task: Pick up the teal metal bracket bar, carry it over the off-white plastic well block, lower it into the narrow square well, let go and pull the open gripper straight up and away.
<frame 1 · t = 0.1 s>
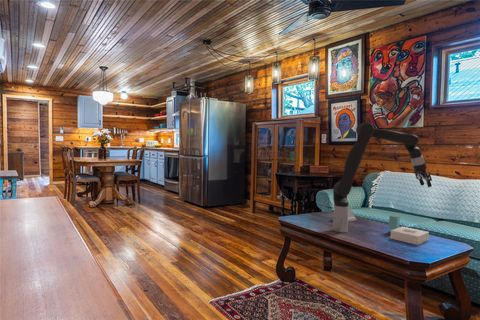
hand: (426, 185, 209), 31 cm above the table, tool tilted 20°, fingers open, 8 cm apart
well block: (409, 239, 194), on the table
bracket: (394, 232, 209), on the table
hinge: (345, 220, 242), on the table
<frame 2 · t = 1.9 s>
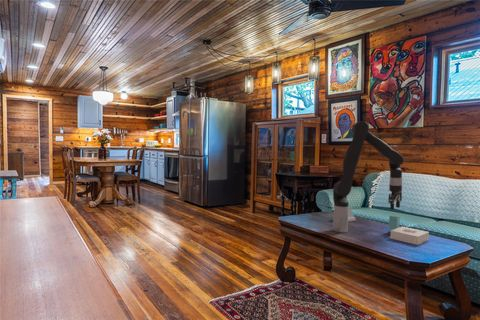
hand: (394, 208, 208), 16 cm above the table, tool pointing down, fingers open, 8 cm apart
nothing on the table moved.
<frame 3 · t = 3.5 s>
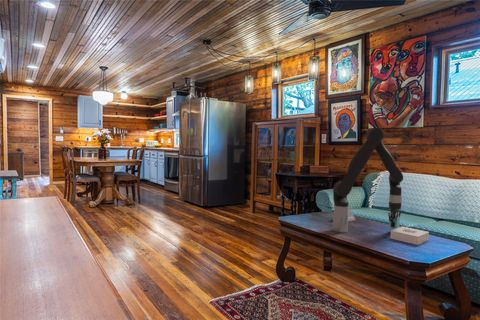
hand: (394, 226, 209), 4 cm above the table, tool pointing down, fingers closed on bracket, 4 cm apart
bracket: (393, 232, 209), on the table, touching gripper
everything else where it was.
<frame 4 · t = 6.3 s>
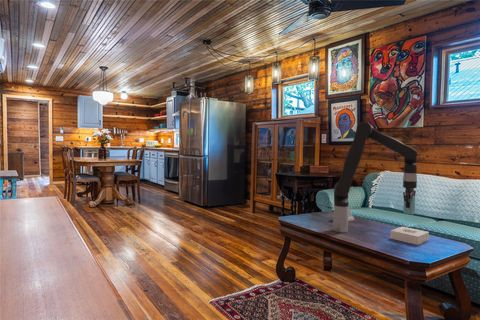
hand: (409, 207, 195), 20 cm above the table, tool pointing down, fingers closed on bracket, 4 cm apart
bracket: (408, 213, 195), point 16 cm above the table, touching gripper
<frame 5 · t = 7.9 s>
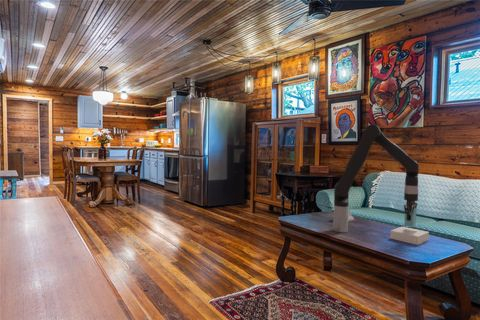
hand: (410, 219, 193), 12 cm above the table, tool pointing down, fingers closed on bracket, 4 cm apart
bracket: (410, 225, 193), point 8 cm above the table, touching gripper
when the fingers open (6 cm above the table, at t = 9.3 s): bracket drops 1 cm, resting on well block.
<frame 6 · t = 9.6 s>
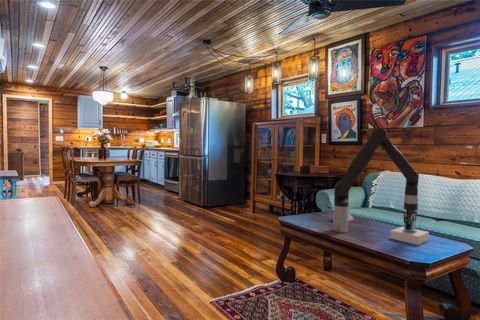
hand: (409, 228, 194), 7 cm above the table, tool pointing down, fingers open, 6 cm apart
bracket: (409, 237, 194), point 1 cm above the table, touching well block
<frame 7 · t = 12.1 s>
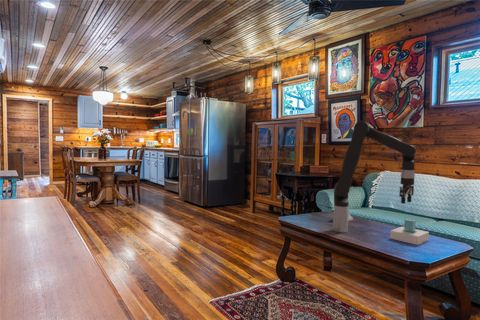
hand: (406, 202, 196), 22 cm above the table, tool pointing down, fingers open, 8 cm apart
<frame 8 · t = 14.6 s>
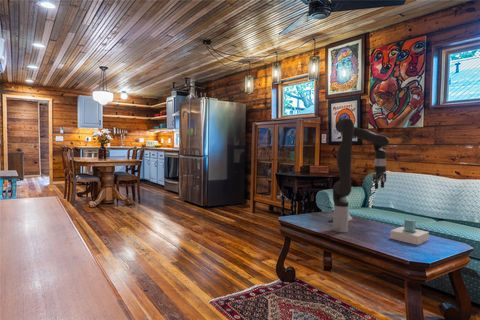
hand: (379, 188, 218), 28 cm above the table, tool pointing down, fingers open, 8 cm apart
at the end: bracket 0.0 cm off-centre on the well block, point 1.0 cm above the well block's base; bracket tilted 0°; the gripper is holding nothing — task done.
